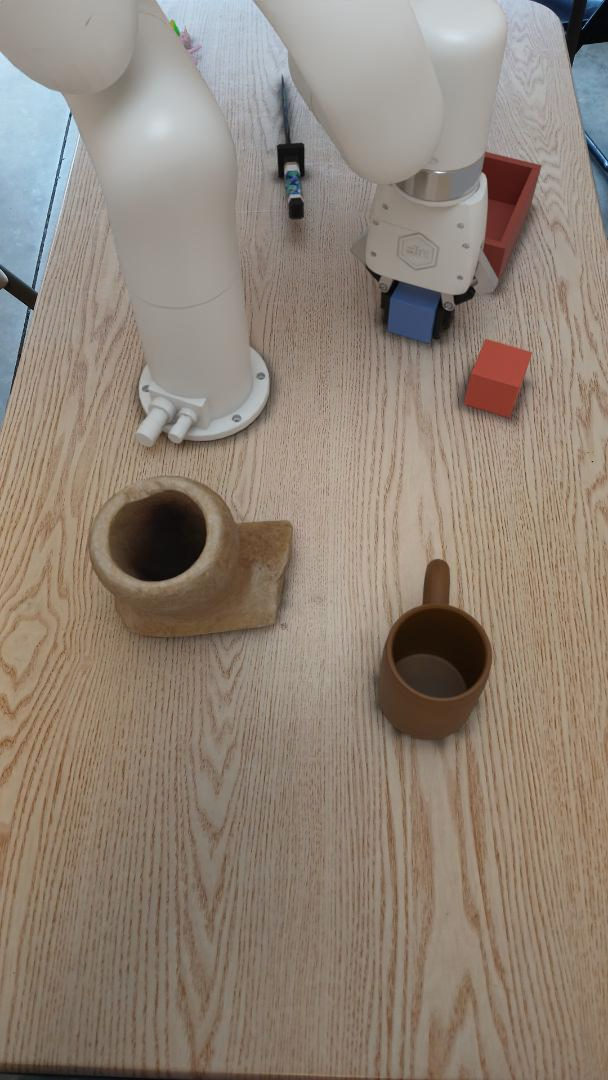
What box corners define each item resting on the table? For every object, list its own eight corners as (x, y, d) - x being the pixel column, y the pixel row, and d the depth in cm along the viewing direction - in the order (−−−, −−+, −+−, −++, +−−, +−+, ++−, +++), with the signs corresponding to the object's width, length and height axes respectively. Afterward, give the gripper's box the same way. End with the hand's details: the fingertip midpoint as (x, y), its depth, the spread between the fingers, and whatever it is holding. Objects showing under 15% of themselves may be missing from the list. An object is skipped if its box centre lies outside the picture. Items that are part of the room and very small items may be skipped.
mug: (381, 597, 70) (389, 542, 61) (472, 604, 69) (492, 550, 61) (373, 738, 64) (381, 698, 56) (473, 747, 63) (496, 708, 55)
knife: (305, 241, 89) (305, 203, 85) (277, 241, 89) (275, 203, 85) (303, 97, 107) (302, 60, 103) (279, 97, 107) (278, 61, 103)
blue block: (429, 344, 83) (434, 311, 79) (386, 331, 84) (390, 298, 80) (443, 313, 85) (449, 279, 81) (401, 301, 86) (405, 267, 82)
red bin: (495, 291, 87) (505, 248, 82) (381, 259, 89) (385, 216, 84) (530, 209, 93) (541, 164, 88) (422, 181, 95) (428, 137, 90)
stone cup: (113, 670, 67) (62, 588, 54) (120, 541, 73) (76, 440, 60) (300, 658, 67) (295, 574, 54) (293, 531, 73) (286, 427, 60)
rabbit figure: (156, 53, 111) (153, 104, 102) (148, 3, 106) (144, 51, 97) (202, 50, 111) (204, 100, 102) (196, -1, 106) (197, 47, 97)
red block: (509, 418, 79) (519, 387, 75) (463, 404, 79) (471, 372, 76) (522, 383, 81) (532, 352, 77) (477, 370, 81) (485, 338, 78)
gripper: (325, 165, 69) (324, 323, 85) (524, 216, 65) (484, 371, 81) (357, 113, 72) (351, 274, 88) (549, 159, 69) (506, 318, 85)
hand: (415, 319), depth 84 cm, fingers closed on blue block, 4 cm apart
